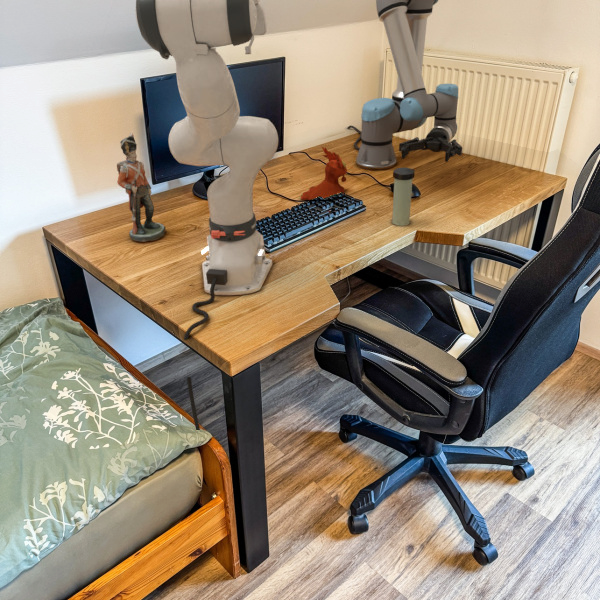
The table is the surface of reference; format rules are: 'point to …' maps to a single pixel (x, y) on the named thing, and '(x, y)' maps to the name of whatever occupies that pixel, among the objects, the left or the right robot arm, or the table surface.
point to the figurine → (138, 193)
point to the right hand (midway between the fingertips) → (424, 156)
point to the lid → (403, 173)
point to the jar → (401, 202)
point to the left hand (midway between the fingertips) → (231, 54)
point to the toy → (329, 178)
